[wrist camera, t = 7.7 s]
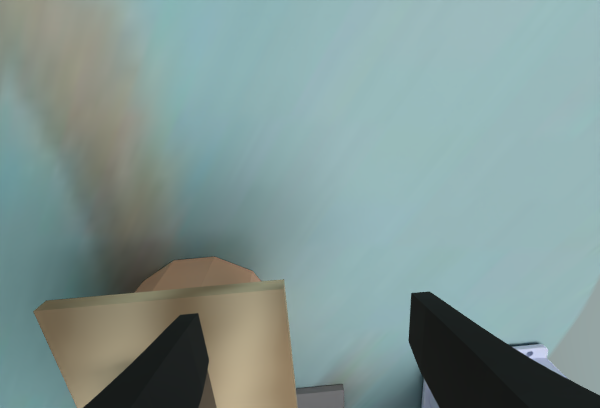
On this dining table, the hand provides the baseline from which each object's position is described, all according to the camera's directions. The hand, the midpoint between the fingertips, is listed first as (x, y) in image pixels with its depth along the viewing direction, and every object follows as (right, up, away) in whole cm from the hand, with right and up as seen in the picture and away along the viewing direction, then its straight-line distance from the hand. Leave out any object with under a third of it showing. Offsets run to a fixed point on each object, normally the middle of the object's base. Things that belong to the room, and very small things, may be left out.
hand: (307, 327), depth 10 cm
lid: (-7, -6, +7) cm, 11 cm away
